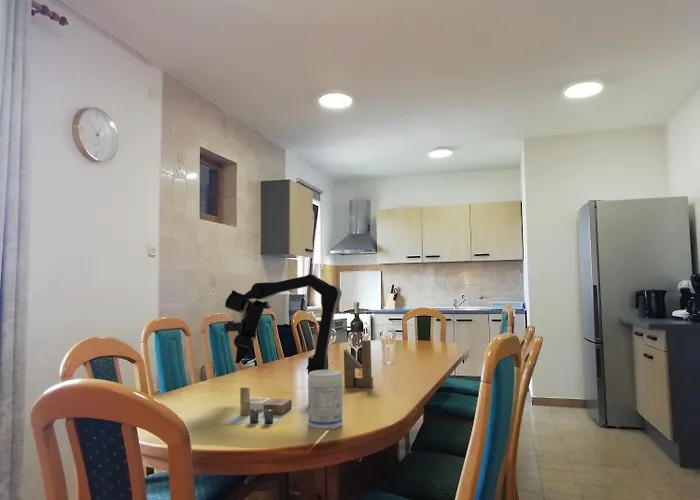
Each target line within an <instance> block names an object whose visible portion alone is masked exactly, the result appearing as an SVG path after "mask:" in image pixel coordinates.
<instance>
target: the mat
mask: <svg viewBox="0 0 700 500" xmlns="http://www.w3.org/2000/svg"><path fill="white" fill-rule="evenodd" d="M297 408H298V406H292V409H291V410H289V411H288V412H287V413H285V414H284V415H283V416H282V415H273V424H265V415H264V411H259V423H256V424H255V425H259V426H260V425H262V426H274V425H275V424H277V423H278V422H279V421H281V420H282V419H284V418H285V417H286V416H287V415H289V414H290V413H292V412H294V410H296V409H297ZM220 424H232V425H233V424H235V425H236V424H238V425H252V424H251V423H250V415H249V416H240V411H238V412H236V413H235V414H233V415H231V416H229V417H228V418H226V419H224V420H222V421H221V422H220Z"/></svg>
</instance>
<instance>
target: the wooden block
mask: <svg viewBox="0 0 700 500" xmlns="http://www.w3.org/2000/svg"><path fill="white" fill-rule="evenodd" d="M371 342H372V341H371V339H362V340H361V363H360V361H358V359H356V357H354V356H353V355H352V353H350V351H349V350H347V349H343V368H344V370H343V373H344V374H343V375H344V379H343V381H344V383H343V385H344V388H353V387H356V388H370V389H371V388H372V387H373V386H374V377H373V376H372V346H371V345H372V343H371ZM356 369H357V370H358V369H359V370H361V374H362V376H359V375H358V376H357V375H356Z"/></svg>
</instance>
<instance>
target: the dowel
mask: <svg viewBox="0 0 700 500" xmlns="http://www.w3.org/2000/svg"><path fill="white" fill-rule="evenodd" d="M239 388H240V389H239V390H240V391H239V392H240V393H239V394H240V395H239V396H240V397H239V400H240V401H239V402H240V404H239V405H240V407H239V409H240V411H239V412H240V416H249V415H250V398H251V391H250V390H251V389H250V388H251V387H249V386H243V387H239Z"/></svg>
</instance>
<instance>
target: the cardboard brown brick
mask: <svg viewBox="0 0 700 500" xmlns="http://www.w3.org/2000/svg"><path fill="white" fill-rule="evenodd" d="M292 401H293V400H292V399H291V398H271V400H270V401H269V402H267V403H265V404H264V411H265V410H268V409H272V410H273V415H282V416H283V415H284V414H285V413H287V412H288V411H289V410H291V409H292V407H293V406H292V405H293V404H292ZM264 415H265V412H264Z"/></svg>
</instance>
